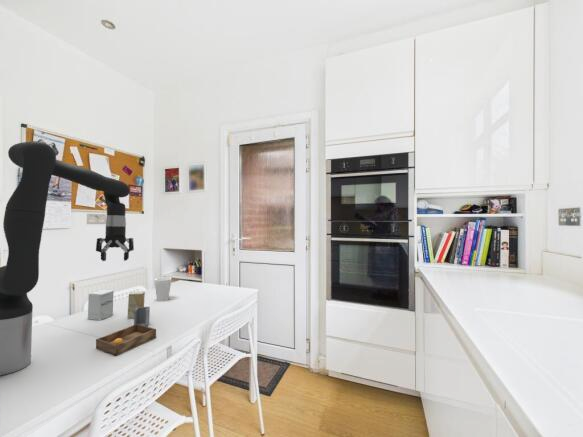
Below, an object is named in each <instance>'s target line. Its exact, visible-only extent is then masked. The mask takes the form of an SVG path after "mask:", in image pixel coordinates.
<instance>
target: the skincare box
mask: <svg viewBox="0 0 583 437" xmlns="http://www.w3.org/2000/svg"><path fill="white" fill-rule="evenodd" d="M145 293H146V291H131V292H129V293H128V302H127V304H128V305H127V320H128V319H134V311H135V310H136V309H137V308H138V307H145V295H146V294H145Z"/></svg>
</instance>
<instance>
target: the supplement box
mask: <svg viewBox="0 0 583 437" xmlns="http://www.w3.org/2000/svg"><path fill="white" fill-rule="evenodd" d="M87 300H88V301H87V302H88V303H87V320H94V321H101V320H103V319H105V318H109V317H111V316H113V314H114V290H109V289H108V290H106V289H101V290H98V291H94V292H91V293H88V299H87Z"/></svg>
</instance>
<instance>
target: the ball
mask: <svg viewBox="0 0 583 437" xmlns="http://www.w3.org/2000/svg"><path fill="white" fill-rule="evenodd" d="M120 343H123V340H122V339H121V338H117V339H115V340H114V342H113V344H115V345H118V344H120Z"/></svg>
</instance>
